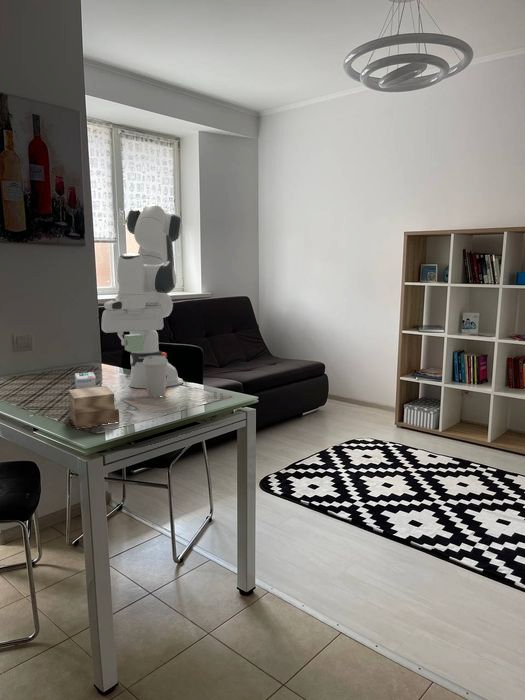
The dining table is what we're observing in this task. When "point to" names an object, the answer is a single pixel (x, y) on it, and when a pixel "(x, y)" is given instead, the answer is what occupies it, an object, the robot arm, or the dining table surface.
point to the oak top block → (91, 399)
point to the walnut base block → (94, 417)
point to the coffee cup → (155, 375)
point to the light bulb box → (85, 380)
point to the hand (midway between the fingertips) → (133, 344)
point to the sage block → (134, 342)
